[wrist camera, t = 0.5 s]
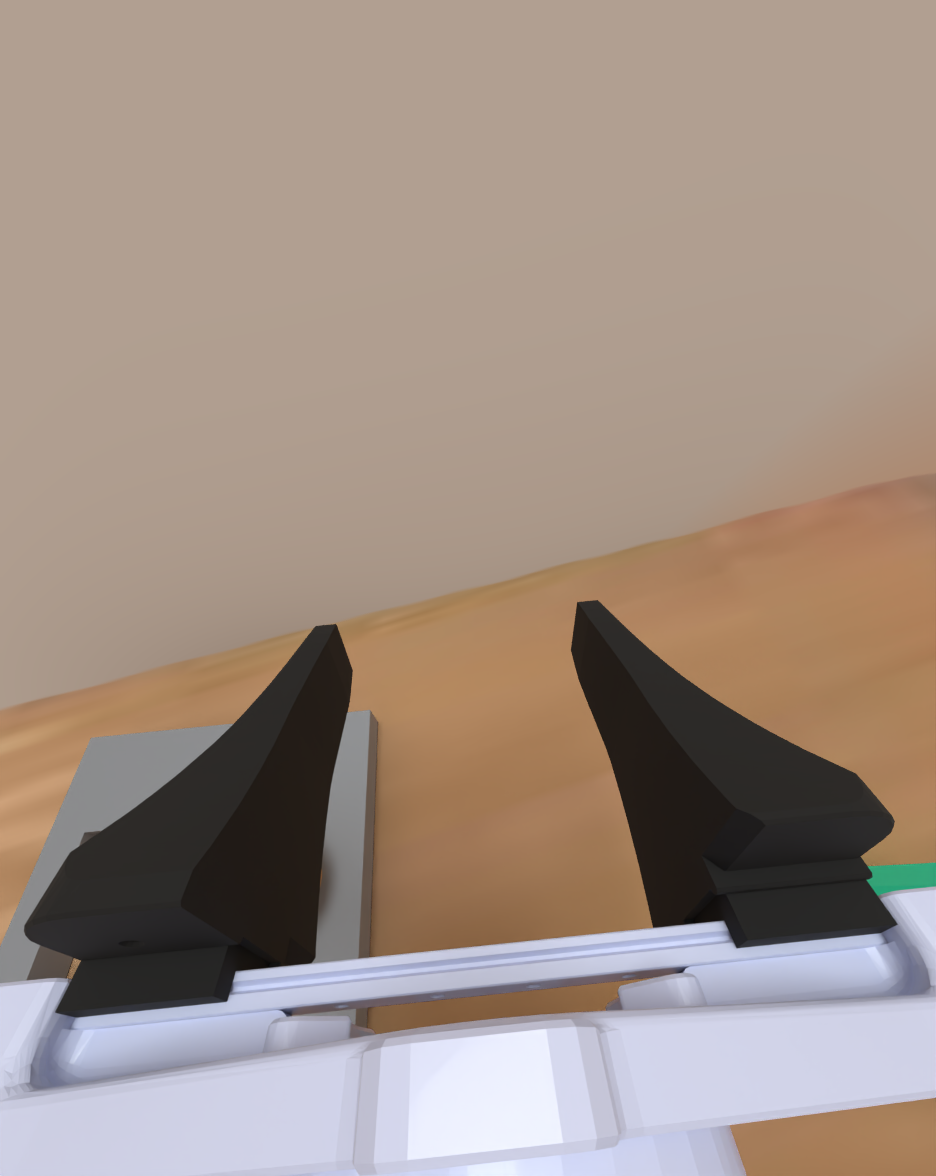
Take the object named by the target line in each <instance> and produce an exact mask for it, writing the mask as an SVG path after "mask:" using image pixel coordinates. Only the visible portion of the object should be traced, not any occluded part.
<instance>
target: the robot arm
mask: <svg viewBox="0 0 936 1176" xmlns="http://www.w3.org/2000/svg"><path fill="white" fill-rule="evenodd" d="M571 652H572V656H573V660H574V664H575V668H576V671H577V675H578V679H579V682H580V684H581V687H582V689H583V692H584V694H585V697H586V699H587V702H588V704H589V707H590V709H591V712H592V714H593V717H594V719H595V722H596V724H597V727H598V729H599V732H600V734H601V737H602V739H603V741H604V744H605V746H606V749H607V752H608V755H609V758H610V761H611V764H612V767H613V771H614V774H615V778H616V781H617V784H618V788H619V791H620V795H621V798H622V802H623V806H624V809H625V813H626V817H627V820H628V824H629V828H630V832H631V836H632V839H633V843H634V847H635V851H636V855H637V859H638V863H639V867H640V872H641V876H642V880H643V885H644V889H645V893H646V897H647V902H648V906H649V911H650V915H651V920H652V925H653V928H649V929H639V930H629V931H620V932H610V933H601V934H591V935H581V936H572V937H562V938H552V939H543V940H533V941H524V942H514V943H504V944H495V945H485V946H475V947H466V948H456V949H447V950H437V951H427V952H418V953H408V954H399V955H389V956H379V957H370V958H360V959H350V960H341V961H331V962H322V963H312V962H313V961H314V959H315V958H316V939H317V923H318V907H319V893H320V881H321V870H322V858H323V848H324V839H325V830H326V821H327V813H328V805H329V797H330V789H331V783H332V778H333V773H334V768H335V764H336V760H337V755H338V751H339V747H340V742H341V738H342V734H343V729H344V725H345V721H346V716H347V712H348V707H349V702H350V694H351V683H352V672H353V670H352V667H351V664H350V662H349V659H348V656H347V653H346V650H345V647H344V644H343V642H342V639H341V636H340V633H339V630H338V627H337V625H336V624H333V625H322V626H316V627H315V628H314V629H313V630H312V631H311V633H310V634H309V635H308V636H307V638H306V639H305V640H304V642H303V643H302V644H301V646H300V647H299V648H298V649H297V651H296V652H295V653H294V655H293V656H292V657H291V659H290V660H289V661H288V662H287V664H286V665H285V666H284V667H283V669H282V670H281V671H280V672H279V673H278V675H277V676H276V677H275V678H274V680H273V681H272V682H271V683H270V684H269V686H268V687H267V688H266V689H265V690H264V691H263V693H262V694H261V695H260V696H259V697H258V698H257V699H256V700H255V702H254V703H253V704H252V705H251V706H250V707H249V708H248V709H247V711H246V712H245V713H244V714H243V715H242V716H241V717H240V718H239V719H238V720H237V721H236V722H235V723H234V724H233V725H232V726H231V727H230V728H229V729H228V730H227V731H226V732H225V733H224V734H223V735H222V736H221V737H220V738H219V739H218V740H216V741H215V742H214V743H213V744H212V745H211V746H210V747H209V748H208V749H206V750H205V751H204V752H203V753H202V754H201V755H200V756H198V757H197V758H196V759H195V760H194V761H193V762H191V763H190V764H189V765H188V766H187V767H186V768H185V769H183V770H182V771H181V772H180V773H179V774H177V775H176V776H175V777H174V778H173V779H171V780H170V781H169V782H167V783H166V784H165V785H164V786H162V787H161V788H160V789H159V790H157V791H156V792H155V793H153V794H152V795H151V796H149V797H148V798H147V799H145V800H144V801H143V802H142V803H140V804H139V805H138V806H136V807H135V808H133V809H132V810H131V811H129V812H128V813H127V814H125V815H124V816H122V817H121V818H120V819H118V820H117V821H115V822H114V823H112V824H111V825H109V826H108V827H106V828H105V829H104V830H102V831H101V832H99V833H98V834H96V835H95V836H93V837H92V838H90V839H89V840H88V841H86V842H85V843H83V844H82V845H80V846H79V847H77V848H76V849H74V850H73V851H71V852H70V853H69V855H68V856H67V858H66V859H65V861H64V862H63V864H62V866H61V867H60V869H59V871H58V872H57V874H56V875H55V877H54V879H53V880H52V882H51V883H50V885H49V887H48V888H47V890H46V891H45V893H44V895H43V896H42V898H41V899H40V901H39V903H38V904H37V906H36V907H35V909H34V911H33V912H32V914H31V915H30V917H29V919H28V920H27V922H26V923H25V925H24V933H25V936H26V937H27V938H28V939H29V940H30V941H32V942H34V943H36V944H38V945H40V946H43V947H46V948H48V949H51V950H54V951H57V952H59V953H62V954H65V955H68V956H70V957H73V958H76V959H79V960H81V962H80V964H79V966H78V968H77V970H76V972H75V974H74V976H73V978H72V979H66V978H47V979H37V980H28V981H18V982H8V983H0V1176H747V1175H746V1172H745V1169H744V1166H743V1164H742V1161H741V1158H740V1155H739V1152H738V1149H737V1146H736V1143H735V1141H734V1138H733V1135H732V1132H731V1129H730V1126H729V1125H733V1124H741V1123H748V1122H756V1121H763V1120H771V1119H778V1118H786V1117H793V1116H801V1115H808V1114H816V1113H824V1112H831V1111H839V1110H846V1109H854V1108H861V1107H869V1106H876V1105H884V1104H891V1103H899V1102H907V1101H914V1100H922V1099H929V1098H936V887H926V888H917V889H907V890H898V891H892V892H888V893H884V894H881V895H879V896H877V894H876V893H875V891H874V890H873V888H872V887H871V886H870V884H869V883H868V881H867V880H868V879H871V878H872V877H873V876H872V872H871V871H870V869H869V868H868V866H867V865H866V864H865V862H864V861H863V860H862V858H861V857H860V856H862V855H863V854H864V853H866V852H867V851H868V850H870V849H871V848H872V847H874V846H875V845H876V844H878V843H879V842H880V841H882V840H883V839H884V838H885V837H886V836H888V835H889V834H890V833H891V831H892V829H893V827H894V822H895V821H894V819H893V817H892V815H891V814H890V813H889V812H888V811H887V809H886V808H885V807H884V806H883V805H882V803H881V802H880V801H879V800H878V799H877V797H876V796H875V795H874V794H873V793H872V791H871V790H870V789H869V788H868V787H867V786H866V784H865V783H864V782H863V781H862V780H861V779H860V778H859V777H858V776H857V774H856V773H853V772H851V771H849V770H847V769H845V768H843V767H840V766H838V765H836V764H834V763H832V762H830V761H828V760H825V759H823V758H821V757H819V756H817V755H815V754H813V753H810V752H808V751H806V750H804V749H802V748H800V747H798V746H796V745H794V744H792V743H790V742H789V741H787V740H785V739H783V738H781V737H779V736H777V735H775V734H773V733H771V732H769V731H768V730H766V729H764V728H762V727H761V726H759V725H757V724H755V723H753V722H752V721H750V720H748V719H747V718H745V717H743V716H742V715H740V714H738V713H737V712H735V711H733V710H732V709H730V708H728V707H727V706H725V705H724V704H722V703H721V702H719V701H717V700H716V699H714V698H713V697H711V696H710V695H708V694H707V693H706V692H704V691H703V690H701V689H700V688H698V687H697V686H695V685H694V684H693V683H691V682H690V681H688V680H687V679H686V678H684V677H683V676H682V675H680V674H679V673H678V672H676V671H675V670H674V669H673V668H671V667H670V666H669V665H668V664H666V663H665V662H664V661H663V660H662V659H660V658H659V657H658V656H657V655H656V654H654V653H653V652H652V651H651V650H650V649H649V648H648V647H647V646H645V645H644V644H643V643H642V642H641V641H640V640H639V639H638V638H636V637H635V636H634V635H633V634H632V633H631V632H630V631H629V630H628V629H627V628H626V627H625V626H624V625H623V624H622V623H621V622H620V621H619V620H618V619H616V618H615V617H614V616H613V615H612V614H611V613H610V612H609V611H608V610H607V609H606V608H605V607H604V606H603V605H602V604H601V603H600V602H599V601H598V600H596V601H585V602H577V608H576V616H575V624H574V631H573V639H572V646H571ZM653 977H657V978H653ZM643 978H652V979H648V980H644V981H639V982H635V983H631V984H627V985H622V986H620V987H619V989H618V995H619V998H617V999H615V1000H613V1001H611V1002H609V1003H608V1004H607V1006H606V1011H592V1012H574V1013H558V1014H542V1015H531V1016H519V1017H507V1018H497V1019H487V1020H478V1021H469V1022H460V1023H452V1024H444V1025H436V1026H428V1027H421V1028H414V1029H408V1030H401V1031H394V1032H388V1033H381V1034H375V1032H374V1031H373V1029H368V1028H363V1027H359V1026H356V1025H354V1024H352V1021H351V1019H350V1018H349V1016H293V1015H303V1014H312V1013H322V1012H331V1011H341V1010H350V1009H360V1008H369V1007H378V1006H388V1005H397V1004H407V1003H416V1002H426V1001H435V1000H445V999H454V998H463V997H473V996H482V995H492V994H501V993H511V992H520V991H530V990H539V989H549V988H558V987H567V986H577V985H586V984H596V983H605V982H615V981H624V980H634V979H643Z"/></svg>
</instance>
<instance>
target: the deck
mask: <svg viewBox="0 0 936 1176" xmlns="http://www.w3.org/2000/svg"><path fill="white" fill-rule="evenodd" d="M232 725H233V724H226V725H216V726H206V727H196V728H186V729H176V730H166V731H156V732H146V733H135V734H125V735H115V736H105V737H95V738H91V739H90V741H89V744H88V746H87V748H86V751H85V753H84V755H83V758H82V760H81V762H80V764H79V767H78V769H77V771H76V774H75V776H74V778H73V781H72V783H71V785H70V787H69V790H68V792H67V794H66V797H65V799H64V801H63V804H62V806H61V808H60V810H59V813H58V815H57V817H56V820H55V822H54V824H53V827H52V829H51V831H50V833H49V836H48V838H47V840H46V843H45V845H44V847H43V849H42V852H41V854H40V856H39V859H38V861H37V863H36V866H35V868H34V870H33V872H32V875H31V877H30V879H29V882H28V884H27V886H26V889H25V891H24V893H23V895H22V898H21V900H20V902H19V905H18V907H17V909H16V912H15V914H14V916H13V918H12V921H11V923H10V925H9V928H8V930H7V932H6V935H5V937H4V939H3V941H2V944H1V946H0V983H8V982H18V981H28V980H37V979H47V978H66V977H67V974H68V971H69V968H70V965H71V962H72V960H73V957H70V956H68V955H65V954H62V953H59V952H57V951H54V950H51V949H48V948H46V947H43V946H40V945H38V944H36V943H34V942H32V941H30V940H29V939H28V938H27V937H26V936H25V933H24V925H25V923H26V922H27V920H28V919H29V917H30V915H31V914H32V912H33V911H34V909H35V907H36V906H37V904H38V903H39V901H40V899H41V898H42V896H43V895H44V893H45V891H46V890H47V888H48V887H49V885H50V883H51V882H52V880H53V879H54V877H55V875H56V874H57V872H58V871H59V869H60V867H61V866H62V864H63V862H64V861H65V859H66V858H67V856H68V855H69V853H70V852H71V851H73V850H74V849H76V848H77V847H79V846H80V845H82V844H83V843H85V842H86V841H88V840H89V839H90V838H92V837H93V836H95V835H96V834H98V833H99V832H101V831H102V830H104V829H105V828H106V827H108V826H109V825H111V824H112V823H114V822H115V821H117V820H118V819H120V818H121V817H122V816H124V815H125V814H127V813H128V812H129V811H131V810H132V809H133V808H135V807H136V806H138V805H139V804H140V803H142V802H143V801H144V800H145V799H147V798H148V797H149V796H151V795H152V794H153V793H155V792H156V791H157V790H159V789H160V788H161V787H162V786H164V785H165V784H166V783H167V782H169V781H170V780H171V779H173V778H174V777H175V776H176V775H177V774H179V773H180V772H181V771H182V770H183V769H185V768H186V767H187V766H188V765H189V764H190V763H191V762H193V761H194V760H195V759H196V758H197V757H198V756H200V755H201V754H202V753H203V752H204V751H205V750H206V749H208V748H209V747H210V746H211V745H212V744H213V743H214V742H215V741H216V740H218V739H219V738H220V737H221V736H222V735H223V734H224V733H225V732H226V731H227V730H228V729H229V728H230V727H231V726H232ZM377 733H378V722H377V720H376V719H375V717H374V715H373V714H372V712H371V711H370V710H367V711H357V712H347V716H346V721H345V725H344V729H343V734H342V738H341V742H340V747H339V751H338V755H337V760H336V764H335V768H334V773H333V778H332V783H331V789H330V797H329V805H328V813H327V821H326V830H325V839H324V848H323V858H322V878H321V885H320V893H319V907H318V923H317V939H316V958H315V959H314V961H313V962H312V963H322V962H331V961H341V960H350V959H360V958H369V956H370V928H371V900H372V872H373V845H374V817H375V789H376V761H377ZM367 1012H368V1008H360V1009H350V1010H341V1011H331V1012H322V1013H312V1014H303V1015H293V1016H349V1018H350V1019H351V1021H352V1024H354V1025H356V1026H359V1027H363V1028H367Z"/></svg>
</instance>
